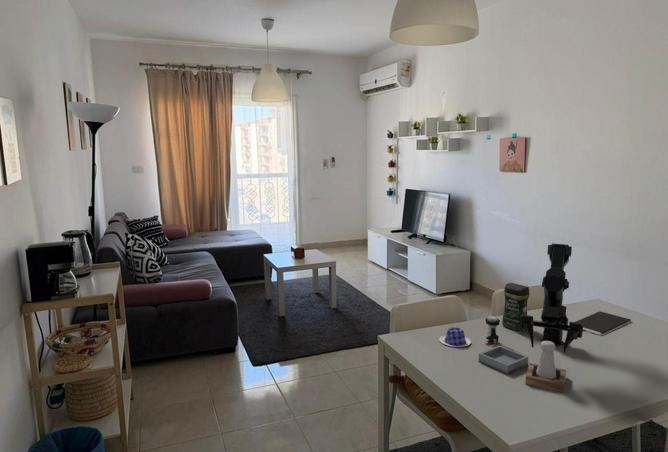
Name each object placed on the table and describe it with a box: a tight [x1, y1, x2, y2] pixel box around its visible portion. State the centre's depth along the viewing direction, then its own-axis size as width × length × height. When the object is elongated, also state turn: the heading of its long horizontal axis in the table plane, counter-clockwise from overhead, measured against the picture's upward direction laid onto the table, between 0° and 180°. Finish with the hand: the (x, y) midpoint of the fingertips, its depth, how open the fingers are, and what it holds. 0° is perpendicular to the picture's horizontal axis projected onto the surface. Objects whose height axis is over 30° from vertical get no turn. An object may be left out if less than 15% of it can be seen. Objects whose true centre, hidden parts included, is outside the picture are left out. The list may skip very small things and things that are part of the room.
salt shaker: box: [535, 341, 557, 381], centre depth 146 cm, size 6×6×13 cm
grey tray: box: [478, 345, 529, 375], centre depth 160 cm, size 12×12×3 cm
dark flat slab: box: [574, 310, 632, 337], centre depth 195 cm, size 13×27×2 cm, turn 125°
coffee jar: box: [501, 282, 530, 331], centre depth 191 cm, size 10×8×19 cm
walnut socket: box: [524, 362, 567, 393], centre depth 147 cm, size 11×11×2 cm
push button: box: [483, 315, 501, 345], centre depth 177 cm, size 7×5×10 cm
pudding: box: [438, 326, 472, 348], centre depth 178 cm, size 12×12×5 cm
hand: (548, 349), depth 148 cm, fingers open, 9 cm apart
